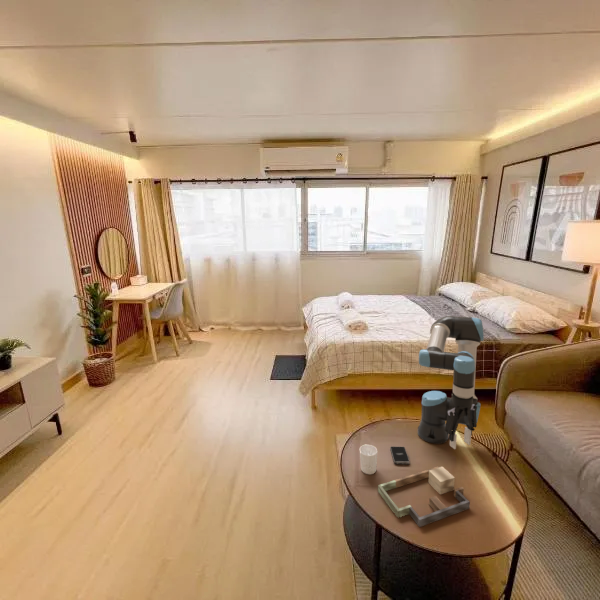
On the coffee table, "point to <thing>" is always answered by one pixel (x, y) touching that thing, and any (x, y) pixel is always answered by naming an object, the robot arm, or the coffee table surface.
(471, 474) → the coffee table surface
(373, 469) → the white cup
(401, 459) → the external hard drive
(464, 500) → the channel
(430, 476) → the block
